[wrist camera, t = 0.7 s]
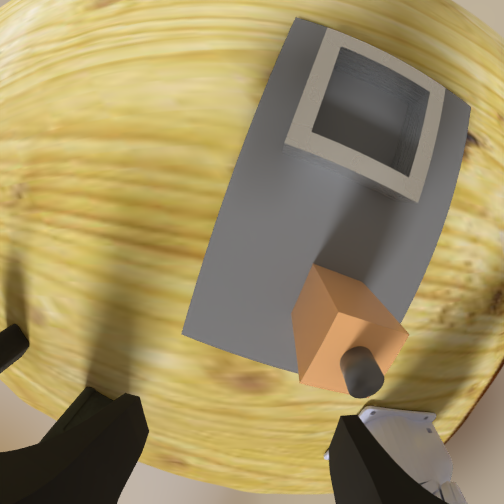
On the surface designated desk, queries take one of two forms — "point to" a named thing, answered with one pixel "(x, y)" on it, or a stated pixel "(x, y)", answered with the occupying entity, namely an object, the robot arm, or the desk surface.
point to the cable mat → (317, 210)
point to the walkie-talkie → (11, 346)
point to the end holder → (390, 81)
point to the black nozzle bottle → (78, 412)
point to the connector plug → (343, 334)
